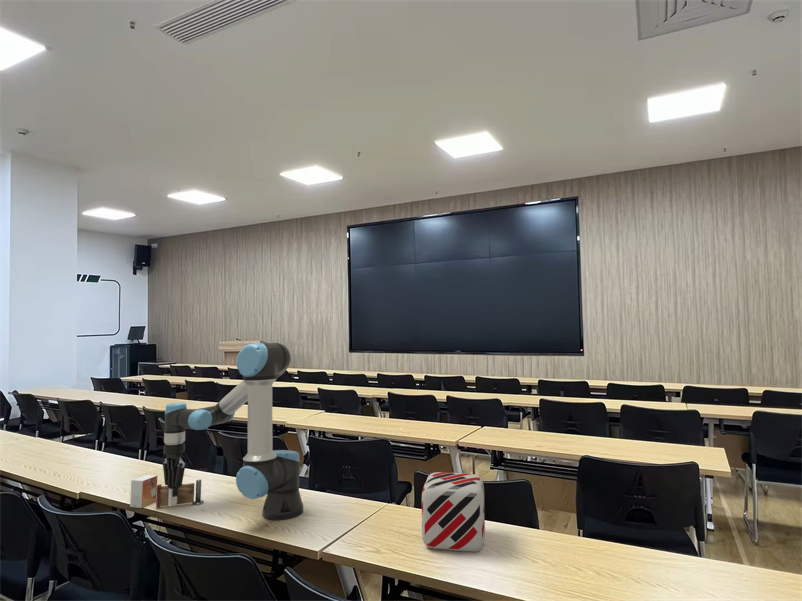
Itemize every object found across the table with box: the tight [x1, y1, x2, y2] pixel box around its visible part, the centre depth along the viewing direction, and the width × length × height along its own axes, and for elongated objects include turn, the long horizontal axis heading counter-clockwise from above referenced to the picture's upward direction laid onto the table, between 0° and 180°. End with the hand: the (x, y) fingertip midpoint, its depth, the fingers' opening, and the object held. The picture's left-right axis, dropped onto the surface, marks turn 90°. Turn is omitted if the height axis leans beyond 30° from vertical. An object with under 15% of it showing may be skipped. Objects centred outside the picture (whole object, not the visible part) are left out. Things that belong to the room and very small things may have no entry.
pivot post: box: [191, 479, 205, 506], centre depth 186 cm, size 4×4×9 cm
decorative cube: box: [421, 471, 486, 552], centre depth 152 cm, size 20×20×20 cm
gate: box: [155, 482, 196, 509], centre depth 183 cm, size 13×2×8 cm, turn 111°
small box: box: [129, 474, 158, 509], centre depth 185 cm, size 8×6×10 cm
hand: (172, 504), depth 179 cm, fingers closed
